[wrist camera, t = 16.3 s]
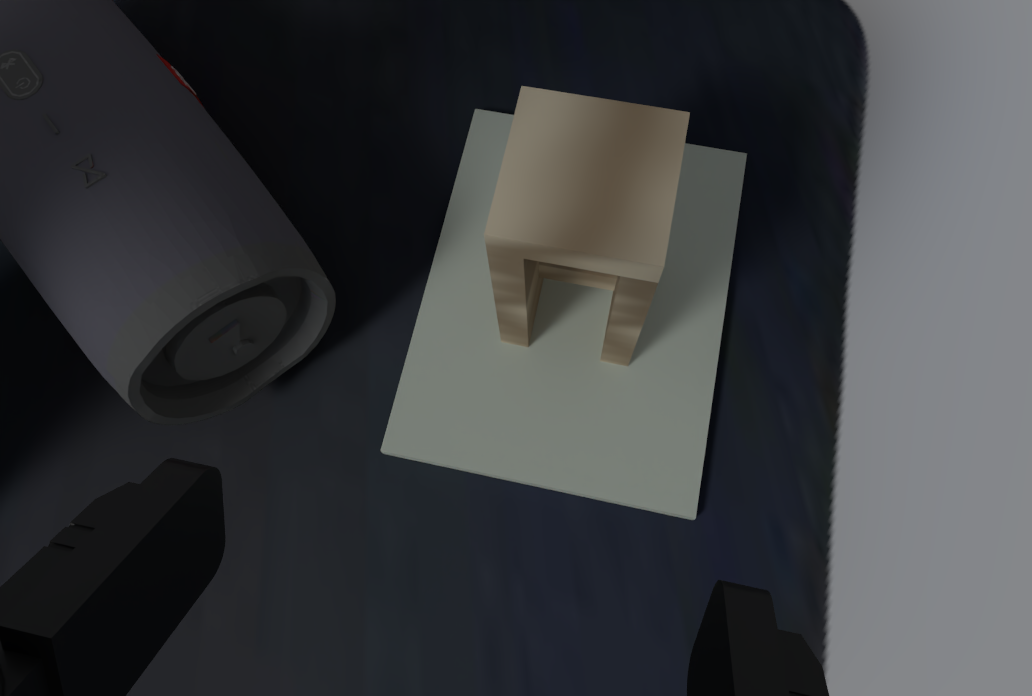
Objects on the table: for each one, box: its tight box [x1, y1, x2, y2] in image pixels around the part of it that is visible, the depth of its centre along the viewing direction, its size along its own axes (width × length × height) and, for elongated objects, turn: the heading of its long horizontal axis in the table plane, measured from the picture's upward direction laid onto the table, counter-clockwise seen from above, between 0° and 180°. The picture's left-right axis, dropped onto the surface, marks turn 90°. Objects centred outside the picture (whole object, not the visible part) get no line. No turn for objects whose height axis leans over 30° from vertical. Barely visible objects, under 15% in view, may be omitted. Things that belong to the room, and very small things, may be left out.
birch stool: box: [484, 86, 690, 366], centre depth 28 cm, size 6×6×10 cm
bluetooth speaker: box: [0, 0, 336, 425], centre depth 31 cm, size 23×9×10 cm, turn 40°
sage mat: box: [381, 109, 747, 520], centre depth 33 cm, size 13×17×1 cm
